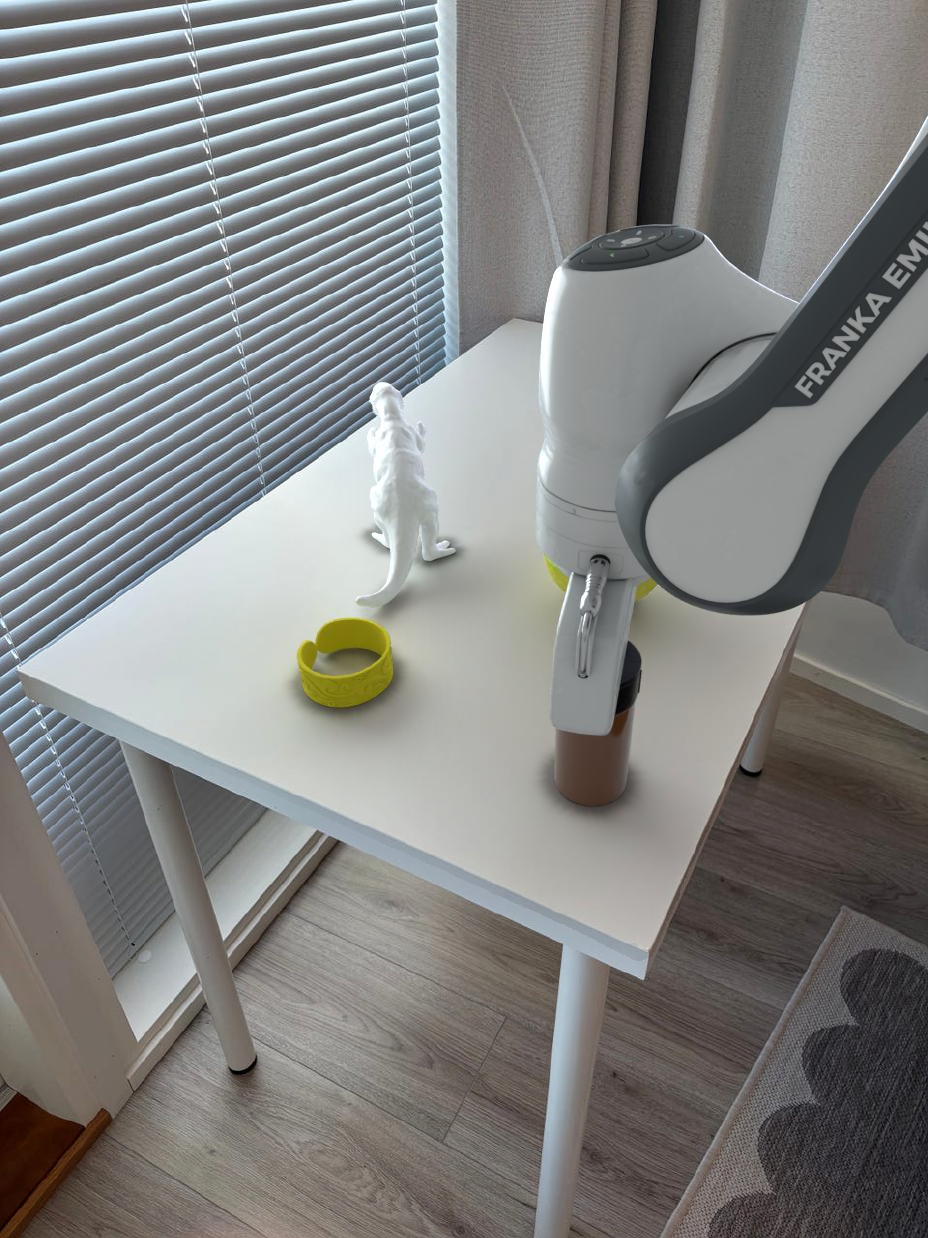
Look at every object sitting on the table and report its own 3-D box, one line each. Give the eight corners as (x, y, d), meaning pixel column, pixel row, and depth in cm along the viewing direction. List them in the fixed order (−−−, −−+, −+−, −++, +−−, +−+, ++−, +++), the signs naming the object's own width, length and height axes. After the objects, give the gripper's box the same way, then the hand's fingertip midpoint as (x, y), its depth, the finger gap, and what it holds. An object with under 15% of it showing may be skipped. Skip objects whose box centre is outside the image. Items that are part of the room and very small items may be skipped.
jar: (631, 759, 72) (644, 644, 65) (620, 813, 68) (632, 697, 61) (562, 746, 74) (567, 632, 66) (546, 798, 70) (550, 682, 62)
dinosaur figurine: (381, 504, 102) (368, 374, 93) (469, 510, 100) (464, 379, 91) (327, 619, 87) (305, 479, 77) (430, 629, 85) (420, 486, 76)
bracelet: (410, 663, 82) (408, 633, 80) (355, 720, 77) (351, 691, 75) (342, 635, 85) (338, 607, 83) (285, 689, 80) (279, 660, 78)
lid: (643, 667, 67) (646, 637, 65) (634, 723, 63) (638, 692, 61) (562, 656, 68) (564, 626, 66) (549, 710, 64) (550, 679, 62)
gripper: (647, 630, 48) (626, 808, 57) (676, 438, 63) (656, 602, 72) (524, 614, 49) (522, 791, 58) (582, 430, 65) (573, 591, 73)
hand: (597, 684), depth 65 cm, fingers closed on lid, 5 cm apart
